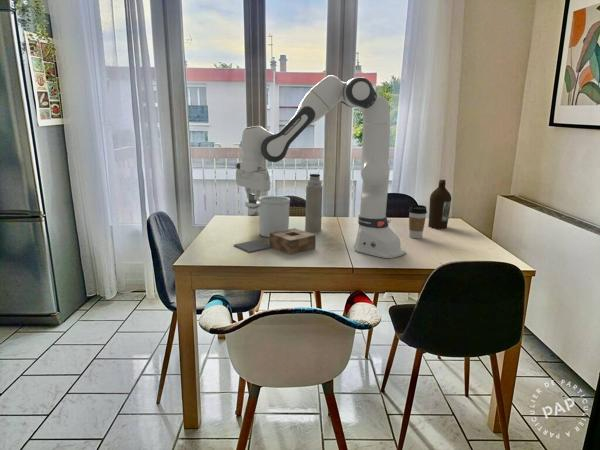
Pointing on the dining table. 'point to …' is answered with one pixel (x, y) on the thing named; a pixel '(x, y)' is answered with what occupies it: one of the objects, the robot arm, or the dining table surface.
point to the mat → (253, 246)
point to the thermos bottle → (313, 204)
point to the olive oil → (439, 207)
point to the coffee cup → (417, 220)
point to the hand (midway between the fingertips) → (252, 199)
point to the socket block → (292, 241)
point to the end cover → (252, 205)
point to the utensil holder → (273, 214)
